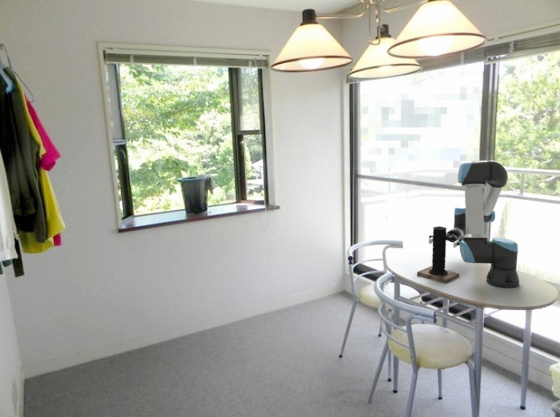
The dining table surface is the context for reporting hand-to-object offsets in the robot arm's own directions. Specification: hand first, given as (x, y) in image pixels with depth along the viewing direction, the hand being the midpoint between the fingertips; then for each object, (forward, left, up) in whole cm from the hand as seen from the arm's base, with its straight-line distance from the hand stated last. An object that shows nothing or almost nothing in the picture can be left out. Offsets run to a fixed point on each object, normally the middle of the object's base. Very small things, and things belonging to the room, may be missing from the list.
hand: (441, 243), depth 222 cm
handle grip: (-1, +5, -16) cm, 17 cm away
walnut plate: (-1, +5, -18) cm, 18 cm away
